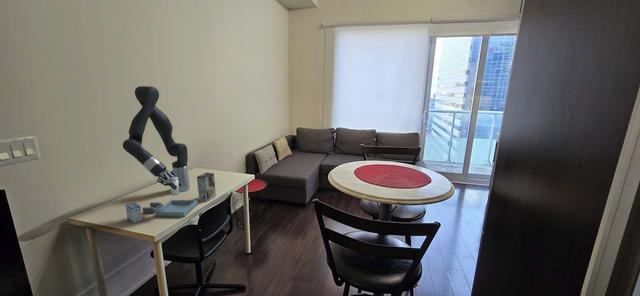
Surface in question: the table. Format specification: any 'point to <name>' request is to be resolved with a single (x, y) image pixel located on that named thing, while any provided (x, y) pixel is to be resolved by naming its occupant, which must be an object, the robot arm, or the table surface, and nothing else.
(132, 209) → the medicine box
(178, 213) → the parts tray
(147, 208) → the holder
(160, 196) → the table surface
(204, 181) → the coffee box
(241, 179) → the table surface
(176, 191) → the white dome cap bottle
